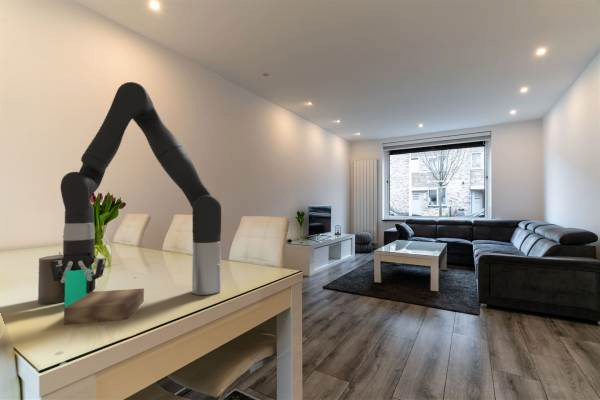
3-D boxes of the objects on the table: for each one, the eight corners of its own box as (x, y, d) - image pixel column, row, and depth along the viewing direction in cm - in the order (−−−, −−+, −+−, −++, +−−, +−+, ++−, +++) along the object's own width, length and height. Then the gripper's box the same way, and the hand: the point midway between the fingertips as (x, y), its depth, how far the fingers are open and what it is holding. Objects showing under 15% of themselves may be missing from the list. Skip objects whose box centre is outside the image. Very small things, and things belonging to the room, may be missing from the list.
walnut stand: (143, 301, 85) (143, 288, 86) (127, 319, 72) (127, 303, 72) (91, 305, 82) (91, 291, 82) (63, 324, 68) (64, 308, 69)
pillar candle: (84, 297, 90) (85, 250, 91) (47, 306, 81) (48, 255, 82) (68, 293, 94) (69, 249, 95) (30, 302, 85) (32, 253, 86)
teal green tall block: (75, 307, 80) (76, 266, 81) (58, 306, 81) (59, 265, 82) (94, 300, 86) (95, 262, 86) (79, 299, 87) (79, 261, 88)
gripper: (111, 235, 90) (110, 288, 89) (59, 237, 86) (58, 291, 86) (100, 238, 83) (99, 295, 82) (43, 240, 79) (42, 299, 79)
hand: (78, 293), depth 84 cm, fingers closed on teal green tall block, 5 cm apart
